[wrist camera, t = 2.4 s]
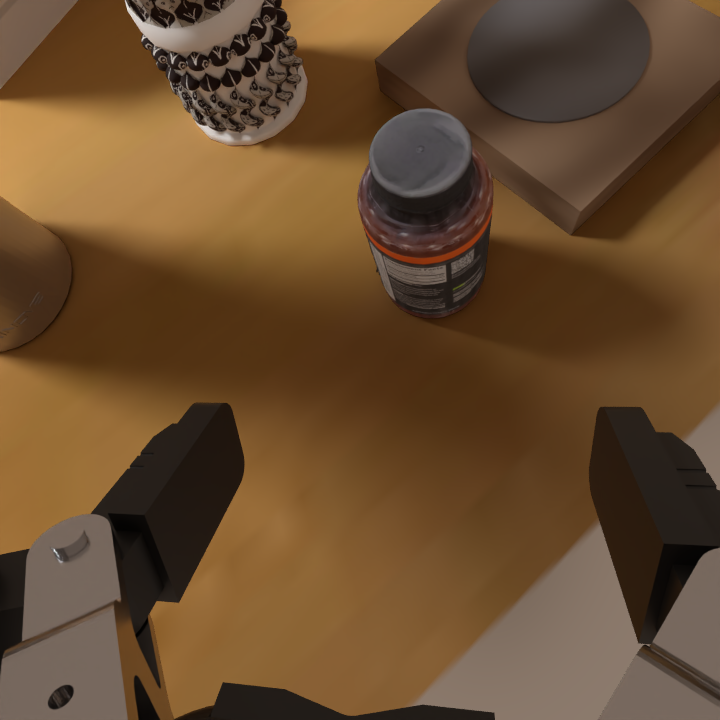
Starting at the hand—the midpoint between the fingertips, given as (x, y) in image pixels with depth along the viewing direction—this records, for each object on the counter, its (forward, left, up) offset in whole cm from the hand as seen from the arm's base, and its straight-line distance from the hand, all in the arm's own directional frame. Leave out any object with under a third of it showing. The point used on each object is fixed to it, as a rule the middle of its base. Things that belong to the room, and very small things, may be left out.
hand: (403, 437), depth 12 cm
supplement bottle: (-8, +8, -17) cm, 21 cm away
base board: (-12, +22, -17) cm, 30 cm away
